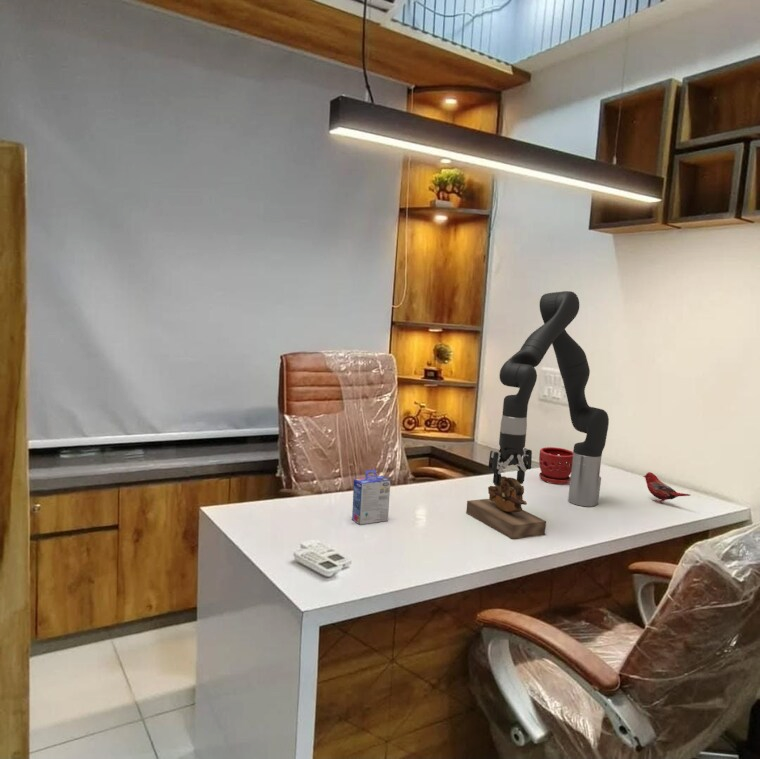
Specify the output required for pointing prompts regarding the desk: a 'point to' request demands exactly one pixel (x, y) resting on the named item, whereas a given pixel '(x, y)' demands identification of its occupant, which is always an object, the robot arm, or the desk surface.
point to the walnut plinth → (506, 519)
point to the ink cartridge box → (371, 499)
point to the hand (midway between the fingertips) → (508, 484)
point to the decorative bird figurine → (660, 489)
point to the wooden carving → (507, 495)
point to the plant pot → (555, 465)
